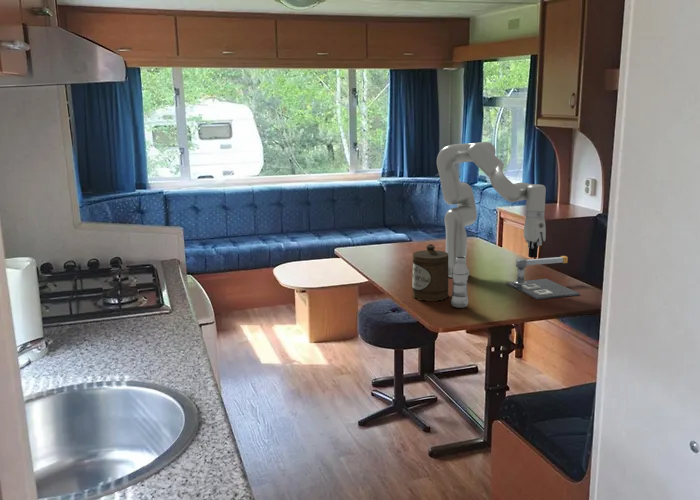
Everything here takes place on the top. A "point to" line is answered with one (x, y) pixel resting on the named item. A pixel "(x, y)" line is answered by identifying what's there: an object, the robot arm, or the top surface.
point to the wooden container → (430, 274)
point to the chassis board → (544, 284)
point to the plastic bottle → (459, 283)
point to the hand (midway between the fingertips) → (532, 257)
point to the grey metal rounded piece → (520, 277)
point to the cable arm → (540, 261)
